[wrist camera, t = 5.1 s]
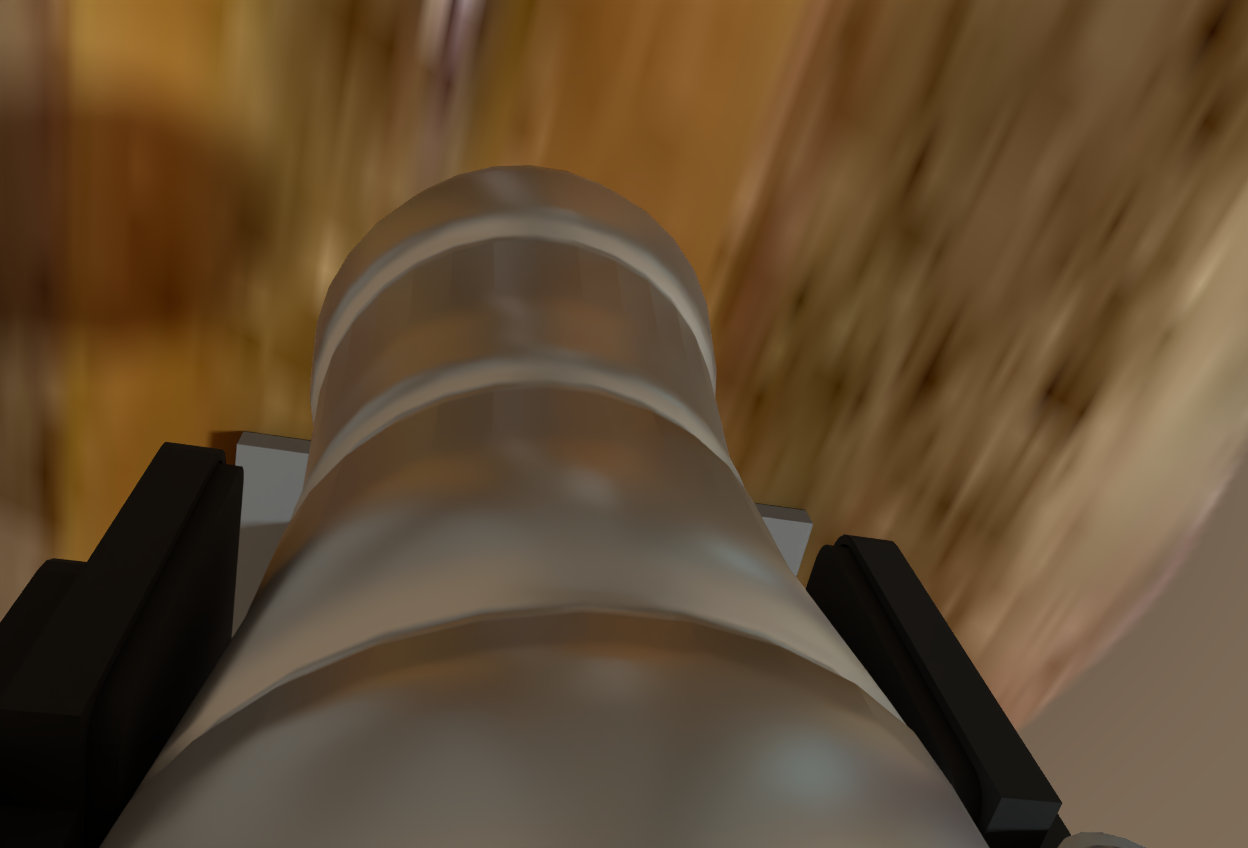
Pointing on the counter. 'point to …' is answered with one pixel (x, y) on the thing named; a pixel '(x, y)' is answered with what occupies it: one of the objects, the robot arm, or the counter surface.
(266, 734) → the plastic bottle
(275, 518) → the blue-grey square tray
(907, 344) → the counter surface
